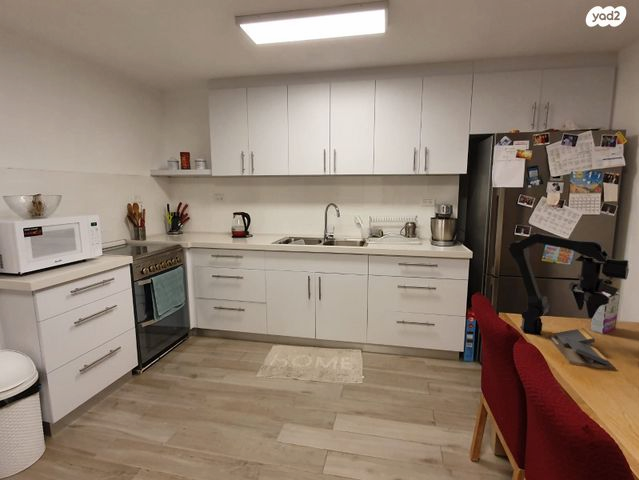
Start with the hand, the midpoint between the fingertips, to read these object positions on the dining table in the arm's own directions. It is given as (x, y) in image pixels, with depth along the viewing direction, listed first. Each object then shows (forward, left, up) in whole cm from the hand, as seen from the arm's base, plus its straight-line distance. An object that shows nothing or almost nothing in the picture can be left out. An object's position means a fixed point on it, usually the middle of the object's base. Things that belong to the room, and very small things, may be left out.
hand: (585, 313), depth 128 cm
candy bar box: (+15, +21, -13) cm, 29 cm away
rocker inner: (-3, -1, -10) cm, 10 cm away
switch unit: (-3, -6, -13) cm, 15 cm away
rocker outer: (-3, -12, -10) cm, 16 cm away
